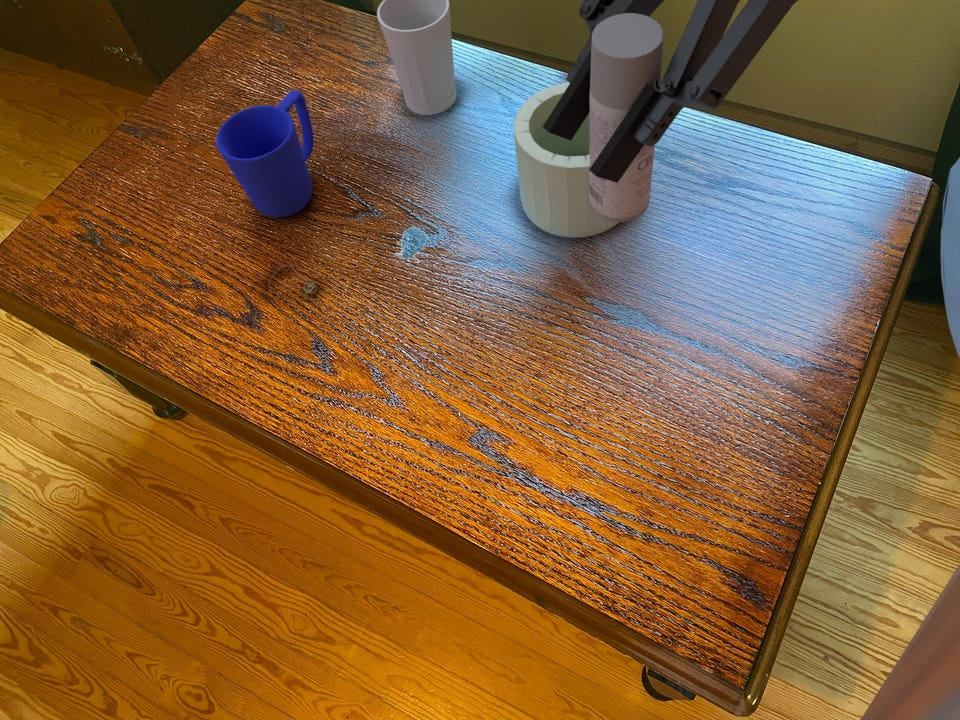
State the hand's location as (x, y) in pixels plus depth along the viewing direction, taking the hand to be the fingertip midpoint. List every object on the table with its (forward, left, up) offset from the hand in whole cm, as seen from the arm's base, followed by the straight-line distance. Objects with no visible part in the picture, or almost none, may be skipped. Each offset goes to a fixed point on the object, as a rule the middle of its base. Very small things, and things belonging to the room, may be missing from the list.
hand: (580, 154), depth 55 cm
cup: (+35, -19, -24) cm, 46 cm away
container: (-1, -4, -7) cm, 8 cm away
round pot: (+11, -15, -24) cm, 30 cm away
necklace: (+29, +11, -24) cm, 39 cm away
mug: (+39, +1, -24) cm, 45 cm away
